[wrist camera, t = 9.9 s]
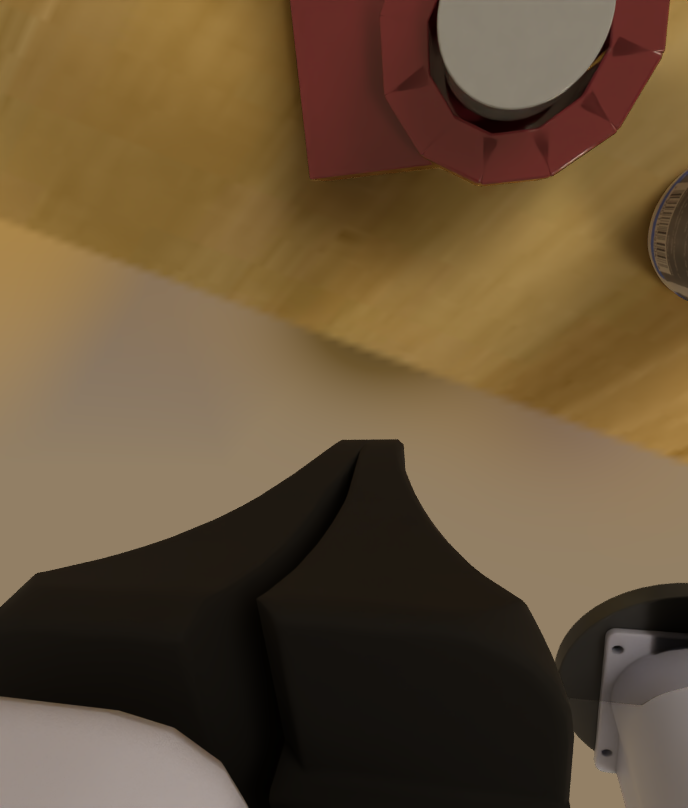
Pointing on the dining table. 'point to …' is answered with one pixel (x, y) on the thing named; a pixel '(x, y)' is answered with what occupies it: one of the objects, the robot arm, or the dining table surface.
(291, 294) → the dining table surface
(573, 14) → the light grey cylinder
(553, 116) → the red socket plate
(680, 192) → the pill bottle
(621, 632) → the robot arm
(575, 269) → the dining table surface
